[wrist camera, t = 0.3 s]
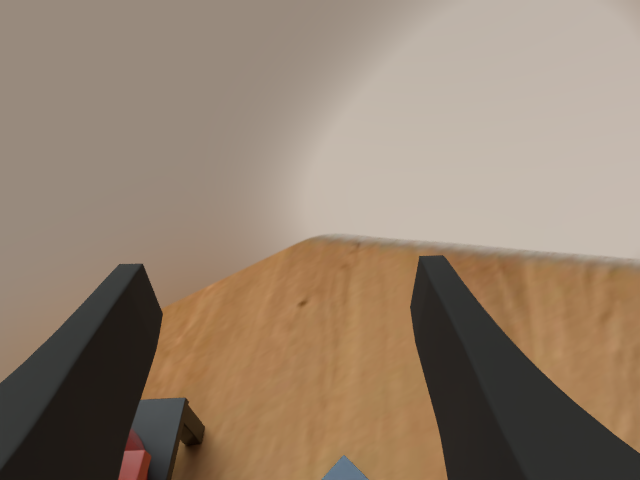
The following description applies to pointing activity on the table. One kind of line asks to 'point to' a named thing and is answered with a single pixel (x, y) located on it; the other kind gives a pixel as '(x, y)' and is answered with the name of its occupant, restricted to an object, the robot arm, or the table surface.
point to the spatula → (344, 471)
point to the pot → (158, 438)
